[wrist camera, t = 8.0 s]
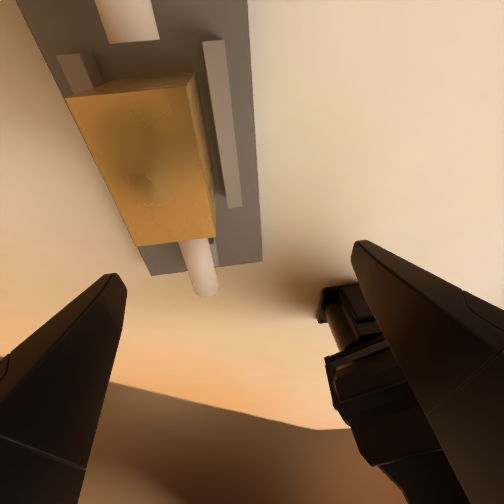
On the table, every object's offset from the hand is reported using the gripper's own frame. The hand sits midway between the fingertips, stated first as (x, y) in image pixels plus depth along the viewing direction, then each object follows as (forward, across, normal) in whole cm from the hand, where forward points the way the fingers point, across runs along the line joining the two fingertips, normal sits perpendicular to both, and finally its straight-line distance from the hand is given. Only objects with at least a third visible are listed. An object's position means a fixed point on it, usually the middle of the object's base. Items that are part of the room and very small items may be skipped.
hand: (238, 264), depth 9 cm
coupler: (+9, +3, -2) cm, 10 cm away
